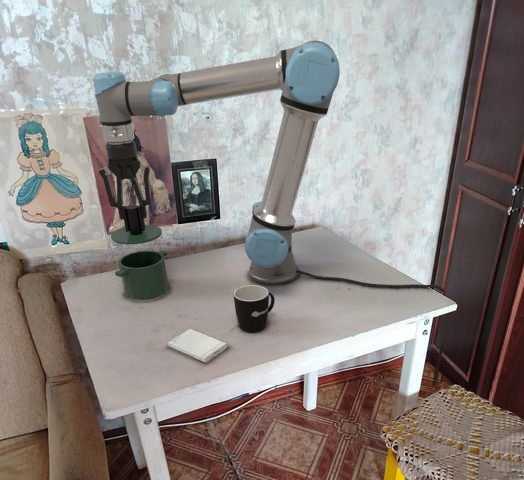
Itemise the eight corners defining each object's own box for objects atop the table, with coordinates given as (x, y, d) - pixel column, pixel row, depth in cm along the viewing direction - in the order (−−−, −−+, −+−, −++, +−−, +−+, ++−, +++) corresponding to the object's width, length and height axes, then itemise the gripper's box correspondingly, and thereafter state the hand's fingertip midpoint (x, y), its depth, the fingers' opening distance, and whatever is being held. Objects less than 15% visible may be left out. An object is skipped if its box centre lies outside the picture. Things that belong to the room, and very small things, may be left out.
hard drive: (167, 342, 124) (204, 358, 118) (190, 328, 129) (226, 342, 123) (168, 347, 125) (205, 363, 118) (191, 333, 130) (227, 347, 124)
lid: (172, 233, 143) (168, 203, 138) (135, 250, 133) (129, 218, 128) (138, 225, 150) (133, 196, 145) (101, 240, 140) (94, 209, 135)
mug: (250, 339, 127) (248, 304, 121) (229, 326, 132) (226, 292, 127) (285, 323, 133) (284, 289, 127) (263, 311, 139) (262, 278, 133)
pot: (183, 284, 154) (179, 253, 148) (139, 309, 142) (132, 276, 136) (154, 275, 161) (149, 244, 155) (109, 298, 148) (102, 265, 143)
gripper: (83, 146, 124) (103, 236, 137) (151, 142, 125) (164, 232, 138) (90, 140, 130) (108, 226, 143) (154, 137, 131) (166, 223, 144)
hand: (135, 229), depth 140 cm, fingers closed on lid, 4 cm apart
